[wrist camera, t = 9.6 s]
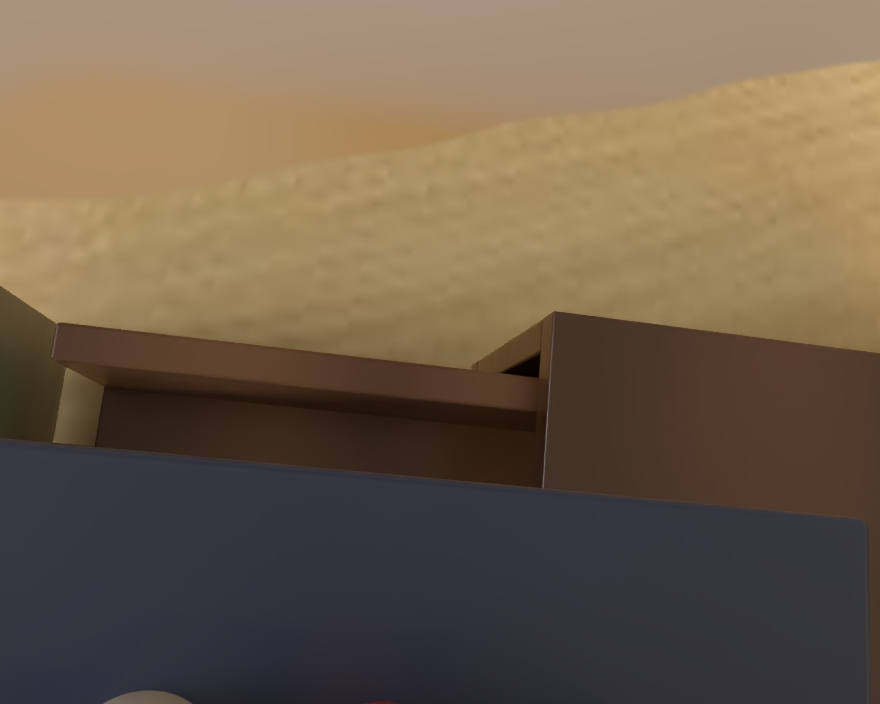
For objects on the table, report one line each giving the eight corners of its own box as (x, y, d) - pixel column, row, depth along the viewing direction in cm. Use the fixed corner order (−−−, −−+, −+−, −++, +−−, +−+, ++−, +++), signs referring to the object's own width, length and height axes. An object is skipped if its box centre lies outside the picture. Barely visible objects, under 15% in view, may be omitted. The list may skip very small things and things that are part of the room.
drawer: (-107, 772, 20) (-283, 899, 14) (-21, 322, 22) (-141, 261, 16) (541, 791, 23) (633, 905, 17) (565, 389, 25) (656, 358, 19)
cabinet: (436, 799, 23) (510, 964, 15) (471, 363, 25) (553, 310, 17) (948, 813, 26) (1238, 959, 18) (941, 418, 28) (1196, 394, 20)
